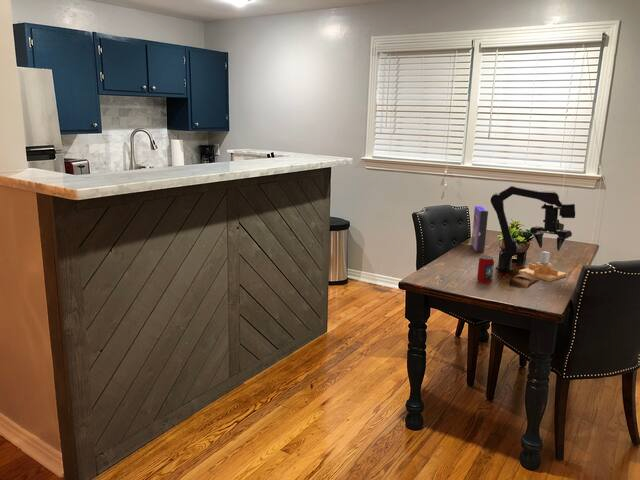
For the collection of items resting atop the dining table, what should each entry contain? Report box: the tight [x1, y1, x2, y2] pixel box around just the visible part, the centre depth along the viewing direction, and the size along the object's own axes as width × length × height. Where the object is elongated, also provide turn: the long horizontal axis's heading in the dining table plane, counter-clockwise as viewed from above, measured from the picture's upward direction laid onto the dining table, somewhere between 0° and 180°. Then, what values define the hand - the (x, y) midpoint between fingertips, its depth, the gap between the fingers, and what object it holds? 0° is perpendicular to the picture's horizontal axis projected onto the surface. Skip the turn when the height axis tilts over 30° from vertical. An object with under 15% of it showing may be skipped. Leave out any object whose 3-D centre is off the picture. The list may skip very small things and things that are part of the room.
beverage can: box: [476, 255, 495, 285], centre depth 238 cm, size 7×7×12 cm
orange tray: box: [518, 261, 568, 282], centre depth 254 cm, size 16×16×6 cm
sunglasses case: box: [508, 271, 540, 289], centre depth 241 cm, size 18×7×7 cm
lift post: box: [538, 250, 551, 264], centre depth 253 cm, size 3×3×10 cm
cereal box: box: [470, 205, 489, 252], centre depth 303 cm, size 17×5×24 cm, turn 172°
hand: (549, 249), depth 253 cm, fingers open, 9 cm apart
